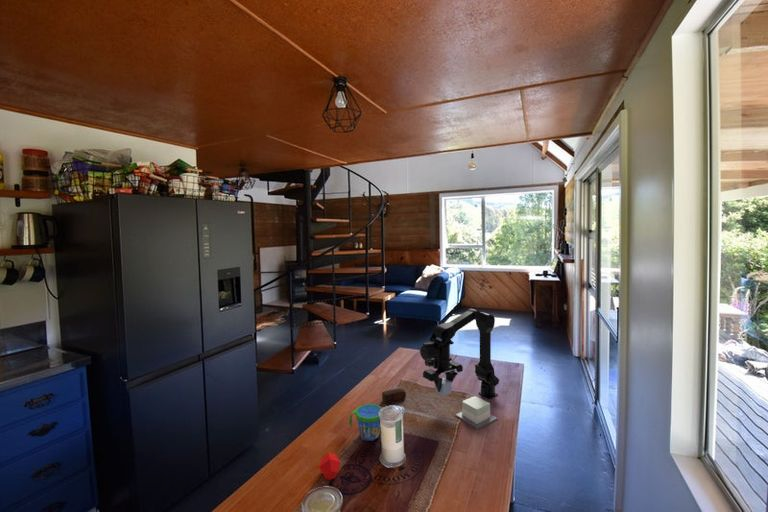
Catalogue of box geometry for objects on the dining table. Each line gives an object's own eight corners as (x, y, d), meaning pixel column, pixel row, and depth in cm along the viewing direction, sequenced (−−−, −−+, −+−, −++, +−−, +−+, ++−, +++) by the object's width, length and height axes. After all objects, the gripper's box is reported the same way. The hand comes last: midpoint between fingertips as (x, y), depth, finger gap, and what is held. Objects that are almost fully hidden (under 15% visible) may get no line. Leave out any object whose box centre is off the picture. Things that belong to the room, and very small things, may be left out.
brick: (385, 405, 149) (385, 395, 149) (382, 401, 153) (381, 391, 152) (406, 399, 154) (406, 390, 153) (401, 396, 157) (401, 386, 157)
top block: (443, 388, 146) (443, 377, 146) (451, 392, 142) (451, 381, 142) (435, 391, 144) (435, 380, 143) (443, 396, 140) (443, 384, 139)
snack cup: (393, 431, 129) (392, 406, 128) (385, 448, 119) (384, 421, 118) (356, 425, 134) (355, 401, 133) (345, 440, 124) (344, 414, 123)
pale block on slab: (474, 407, 146) (474, 392, 145) (497, 419, 136) (497, 404, 135) (455, 415, 139) (455, 400, 139) (477, 429, 129) (477, 413, 129)
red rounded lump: (340, 467, 102) (336, 444, 109) (319, 475, 101) (316, 450, 108) (344, 479, 105) (340, 456, 112) (323, 487, 104) (320, 463, 111)
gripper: (445, 345, 154) (445, 377, 155) (414, 354, 144) (415, 388, 145) (463, 352, 144) (463, 386, 145) (431, 362, 134) (431, 399, 135)
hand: (443, 389), depth 143 cm, fingers closed on top block, 5 cm apart
